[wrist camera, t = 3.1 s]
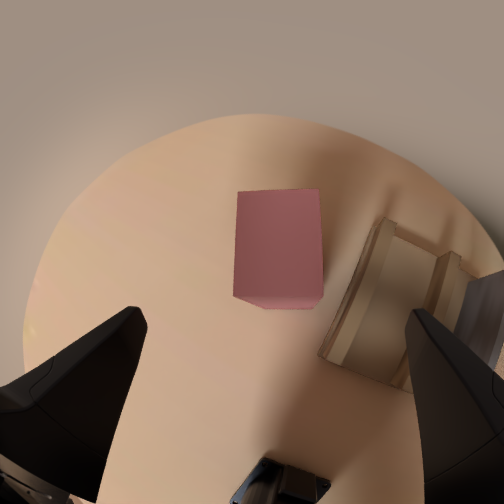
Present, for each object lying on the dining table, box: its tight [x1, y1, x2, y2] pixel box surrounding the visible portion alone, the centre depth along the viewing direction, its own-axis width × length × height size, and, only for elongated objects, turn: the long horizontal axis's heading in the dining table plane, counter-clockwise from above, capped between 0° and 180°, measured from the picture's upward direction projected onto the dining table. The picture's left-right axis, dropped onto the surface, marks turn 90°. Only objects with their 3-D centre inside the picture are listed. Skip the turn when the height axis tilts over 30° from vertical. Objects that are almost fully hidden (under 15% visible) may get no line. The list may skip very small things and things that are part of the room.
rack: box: [317, 217, 504, 394], centre depth 15 cm, size 10×12×7 cm
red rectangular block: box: [233, 189, 323, 309], centre depth 16 cm, size 4×4×10 cm
